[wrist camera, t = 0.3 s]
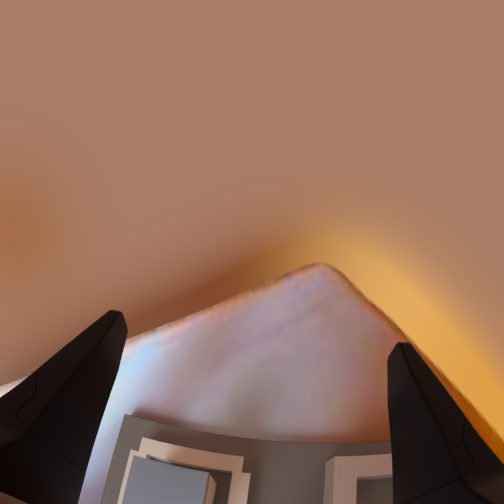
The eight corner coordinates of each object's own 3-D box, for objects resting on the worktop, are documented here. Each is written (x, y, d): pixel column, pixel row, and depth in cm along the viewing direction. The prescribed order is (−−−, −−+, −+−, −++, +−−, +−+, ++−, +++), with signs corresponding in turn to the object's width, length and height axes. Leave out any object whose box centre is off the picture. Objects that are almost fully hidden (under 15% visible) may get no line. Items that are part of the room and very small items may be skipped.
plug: (208, 532, 14) (196, 540, 10) (152, 519, 15) (118, 519, 10) (216, 483, 17) (208, 472, 13) (161, 472, 18) (133, 455, 13)
